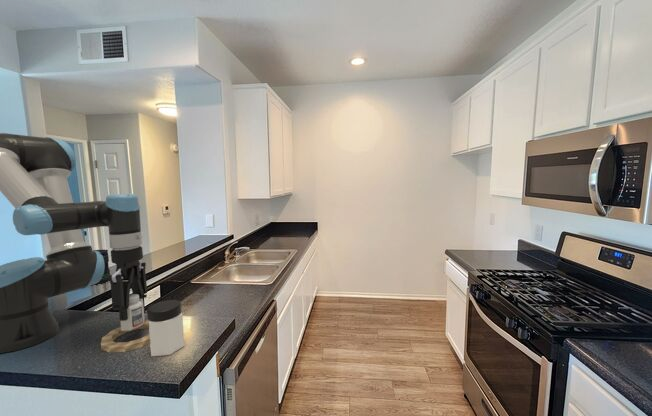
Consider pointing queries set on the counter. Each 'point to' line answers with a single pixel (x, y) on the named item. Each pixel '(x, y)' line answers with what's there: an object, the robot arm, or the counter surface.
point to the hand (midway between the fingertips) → (133, 324)
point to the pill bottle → (136, 311)
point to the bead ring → (114, 347)
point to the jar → (165, 327)
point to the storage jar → (106, 270)
